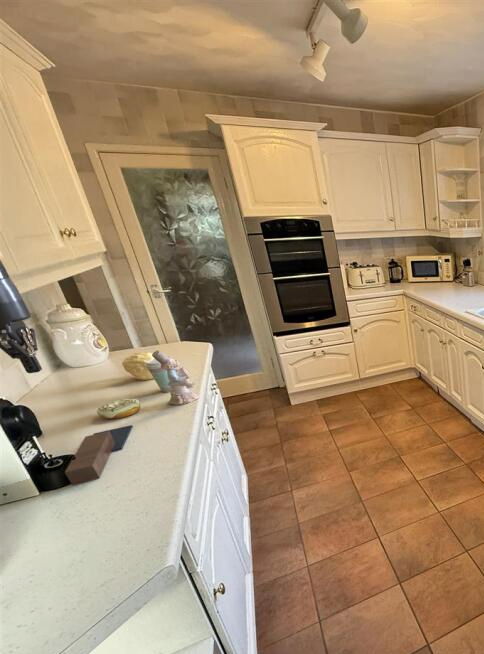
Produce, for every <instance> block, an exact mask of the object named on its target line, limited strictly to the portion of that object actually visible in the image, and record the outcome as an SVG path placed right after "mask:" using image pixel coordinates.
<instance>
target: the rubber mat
mask: <svg viewBox="0 0 484 654" xmlns="http://www.w3.org/2000/svg"><path fill="white" fill-rule="evenodd" d="M132 429H133V424H130V425H125V426H120V427H118V428H112V429H108V430H103V431H99V432H95V433H93V434H92V435H94V434H99V433H103V432H108V431H109V432H110V434H111V435H112V437H113V439H114V441H115V445H114V447H113V449H112V451H111V453H112V452H117V451H120V450H123V449H124V447H125V444H126V442H127V440H128V438H129V436H130V434H131V431H132Z"/></svg>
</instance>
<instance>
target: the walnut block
mask: <svg viewBox="0 0 484 654" xmlns="http://www.w3.org/2000/svg"><path fill="white" fill-rule="evenodd" d="M102 432H103V431H102ZM93 434H94V433H93ZM93 434H89V435H86V436H84V438H83V439H82V441H81V443H80V445H79V446H78V449H77V450H76V452H75V453H74V455H73V457H74V456H75V457H76V459H75V460H72V459H71V461H70V463H69V464H68V466H67V467H66V469H65V471H64V474H65V476H66V477H67V479H68V481H69V482H70V484H71V485H72V486H75V485H79V484H83V483H86V482H91V481H95V480H98V479H101V476H102V474H103V471H104V469H105V467H106V465H107V463H108V460H109V458H110V456H111V453H112V452H111V451H112V449H113V447H114V445H115V441H114V439H113V437H112V435H111V434H110V432H109V431H108V432H103V433H99V434H94V435H93Z"/></svg>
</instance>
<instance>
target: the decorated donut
mask: <svg viewBox="0 0 484 654" xmlns="http://www.w3.org/2000/svg"><path fill="white" fill-rule="evenodd" d="M140 408H141V403H140V400H139V399H136V398H122V399H117V400H113V401H111V402H108V403H106V404H103V405H100V406H99V407H98V408H97V410H96V414H97V416H99V417H101V418H102V419H105V420H115V419H117V420H119V419H121V418H125V417H128V416H129V417H130V416H133V415H134V414H136V413H138V412H139V411H140Z"/></svg>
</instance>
